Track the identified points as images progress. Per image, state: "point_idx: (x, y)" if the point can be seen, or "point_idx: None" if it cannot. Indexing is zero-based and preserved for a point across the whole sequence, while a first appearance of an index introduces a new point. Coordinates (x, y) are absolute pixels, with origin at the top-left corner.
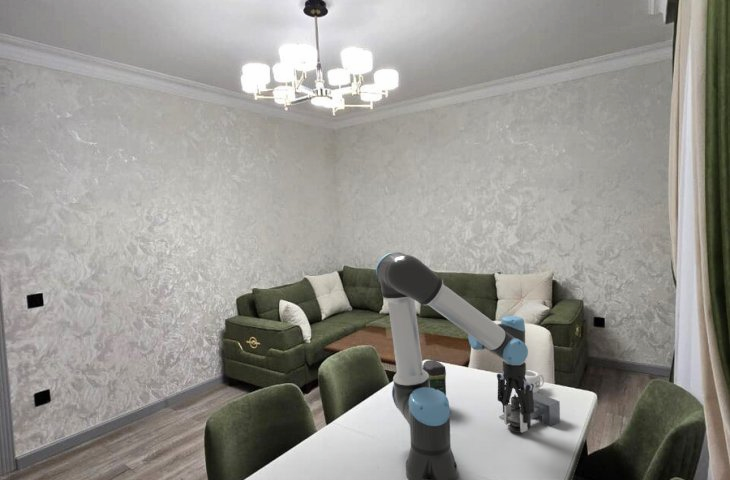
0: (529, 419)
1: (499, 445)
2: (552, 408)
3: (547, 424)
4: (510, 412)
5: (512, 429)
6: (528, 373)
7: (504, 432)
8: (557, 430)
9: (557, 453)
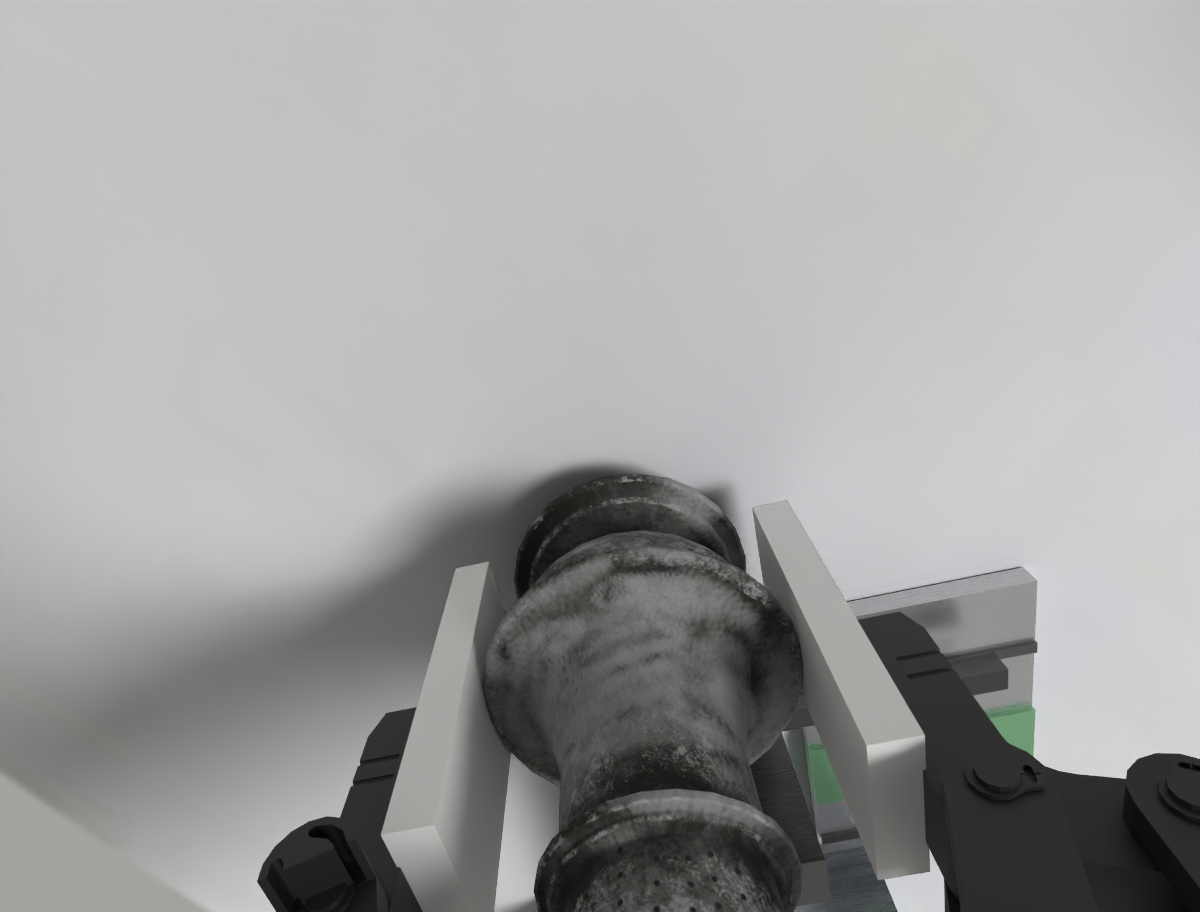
0: None
1: (350, 40)
2: None
3: None
4: (815, 716)
5: (594, 502)
6: None
7: (668, 388)
8: None
9: (5, 655)
